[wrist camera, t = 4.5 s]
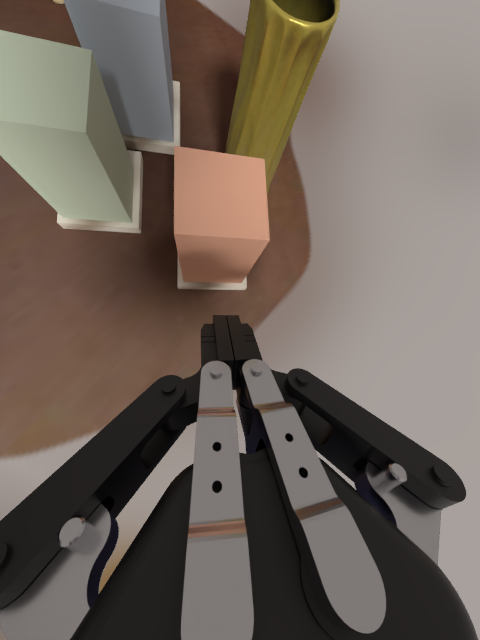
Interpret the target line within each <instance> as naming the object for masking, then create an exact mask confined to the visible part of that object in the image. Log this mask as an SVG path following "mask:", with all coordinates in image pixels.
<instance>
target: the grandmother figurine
mask: <svg viewBox="0 0 480 640" xmlns="http://www.w3.org/2000/svg"><path fill="white" fill-rule="evenodd" d="M52 1H54V2H55V3H58V4H64V0H52Z"/></svg>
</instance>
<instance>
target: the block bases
mask: <svg viewBox="0 0 480 640" xmlns="http://www.w3.org/2000/svg"><path fill="white" fill-rule="evenodd" d="M173 91H174V142H171V141H164V140H157V139H151V138H144V137H137V136H131V135H124V134H121V135H122V138H123V141H124V143H125V146H126V148H128V149H135V150H143V151H150V152H157V153H164V154H172V155H174V146H179V147H180V82H177V81H173ZM127 152H128V155H129V158H130V161H131V163H132V166H133V169H134V174H133V204H132V223H127V222H113V221H100V220H86V219H73V218H63V217H62V216H61V215H60V214H59V213H58V216H57V223H58V224H59V225H60V226H61V227H62V228H65V229H80V230H96V231H111V232H126V233H141V225H142V187H143V157H142V154H141V152H138V151H131V150H127ZM246 288H247V280H246V277H245V279H244V280H243V282H242V283H212V282H183V277H182V272H181V267H180V262H179V257H178V289H211V290H245V289H246Z"/></svg>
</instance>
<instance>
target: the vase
mask: <svg viewBox="0 0 480 640" xmlns="http://www.w3.org/2000/svg"><path fill="white" fill-rule="evenodd" d="M339 7H340V0H250V8H249V14H248V21H247V27H246V33H245V39H244V46H243V52H242V59H241V66H240V73H239V79H238V85H237V90H236V95H235V100H234V105H233V110H232V115H231V121H230V127H229V132H228V138H227V143H226V150H225V153H227V154H234V155H240V156H247V157H254V158H261V159H265V175H266V191H267V193H268V191H269V187H270V183H271V181H272V179H273V176H274V174H275V171H276V169H277V166H278V163H279V161H280V158H281V155H282V153H283V150H284V147H285V145H286V142H287V139H288V137H289V135H290V132H291V129H292V127H293V124H294V122H295V119H296V117H297V114H298V111H299V109H300V106H301V104H302V101H303V99H304V96H305V94H306V91H307V89H308V87H309V84H310V81H311V79H312V77H313V74H314V72H315V70H316V67H317V65H318V63H319V60H320V58H321V56H322V53H323V51H324V49H325V46H326V44H327V42H328V39H329V36H330V34H331V32H332V29H333V27H334V24H335V22H336V19H337V16H338V12H339Z"/></svg>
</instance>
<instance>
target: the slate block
mask: <svg viewBox="0 0 480 640" xmlns="http://www.w3.org/2000/svg"><path fill="white" fill-rule="evenodd" d="M64 3H65V6H66V8H67V11H68V13H69V16H70V19H71V21H72V24H73V26H74V29H75V32H76V34H77V37H78V40H79V42H80V45H81V47H82V48H85V49H90V50H92V52H93V55H94V58H95V61H96V64H97V67H98V69H99V72H100V75H101V78H102V81H103V84H104V87H105V89H106V92H107V95H108V98H109V101H110V104H111V106H112V109H113V112H114V115H115V118H116V121H117V124H118V126H119V129H120V132H121V134H124V135H131V136H137V137H144V138H151V139H157V140H164V141H171V142H174V91H173V80H172V69H171V58H170V47H169V37H168V26H167V15H166V4H165V0H64Z"/></svg>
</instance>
